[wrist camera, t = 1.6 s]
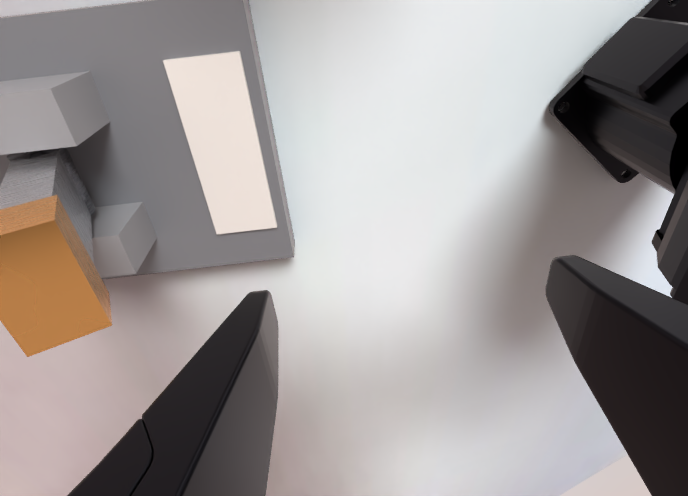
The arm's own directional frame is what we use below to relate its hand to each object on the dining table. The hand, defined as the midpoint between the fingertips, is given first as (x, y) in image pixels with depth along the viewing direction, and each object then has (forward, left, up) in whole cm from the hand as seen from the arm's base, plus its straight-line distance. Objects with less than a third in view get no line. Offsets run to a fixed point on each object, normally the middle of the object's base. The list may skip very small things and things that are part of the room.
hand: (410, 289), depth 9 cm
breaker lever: (+9, +9, -10) cm, 16 cm away
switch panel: (+9, +9, -13) cm, 18 cm away
